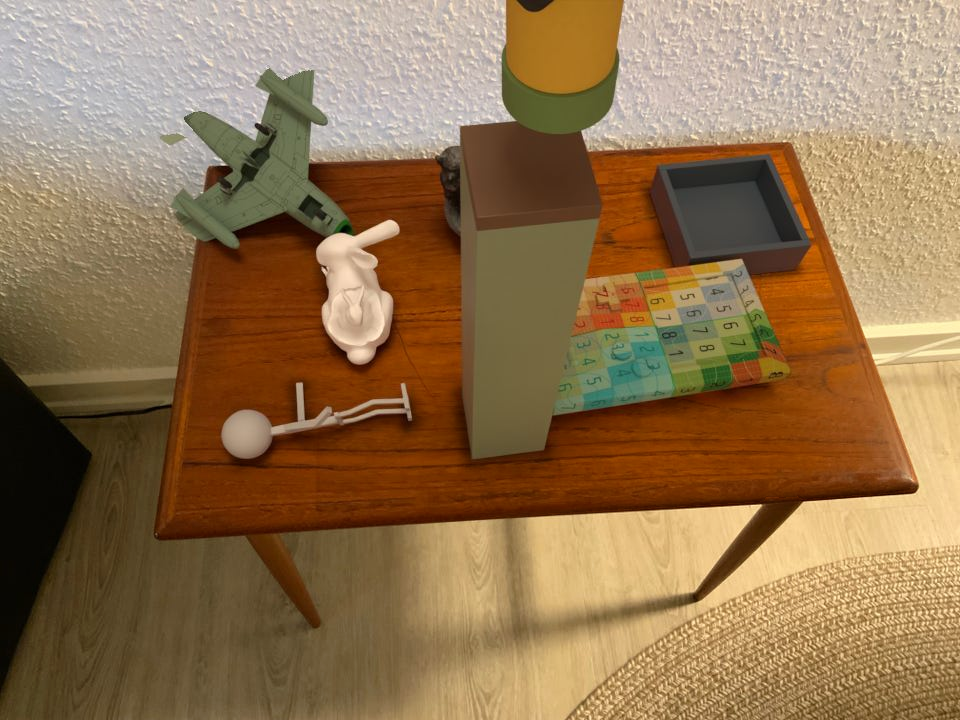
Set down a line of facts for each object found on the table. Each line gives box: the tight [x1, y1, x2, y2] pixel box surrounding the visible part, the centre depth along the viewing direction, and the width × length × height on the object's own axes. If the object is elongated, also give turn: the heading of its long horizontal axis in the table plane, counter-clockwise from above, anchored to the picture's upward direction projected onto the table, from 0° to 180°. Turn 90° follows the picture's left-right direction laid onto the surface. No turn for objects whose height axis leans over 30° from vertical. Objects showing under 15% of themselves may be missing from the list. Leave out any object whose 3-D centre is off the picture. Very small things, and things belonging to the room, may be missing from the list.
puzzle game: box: [552, 259, 792, 416], centre depth 63 cm, size 12×5×20 cm
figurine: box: [220, 382, 413, 460], centre depth 59 cm, size 6×6×15 cm
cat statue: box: [434, 145, 461, 238], centre depth 67 cm, size 12×7×10 cm, turn 86°
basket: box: [649, 153, 812, 276], centre depth 71 cm, size 11×11×4 cm
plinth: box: [459, 120, 604, 460], centre depth 49 cm, size 6×6×30 cm
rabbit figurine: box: [315, 219, 401, 366], centre depth 63 cm, size 12×8×10 cm, turn 10°
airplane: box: [158, 67, 355, 250], centre depth 73 cm, size 24×23×10 cm
